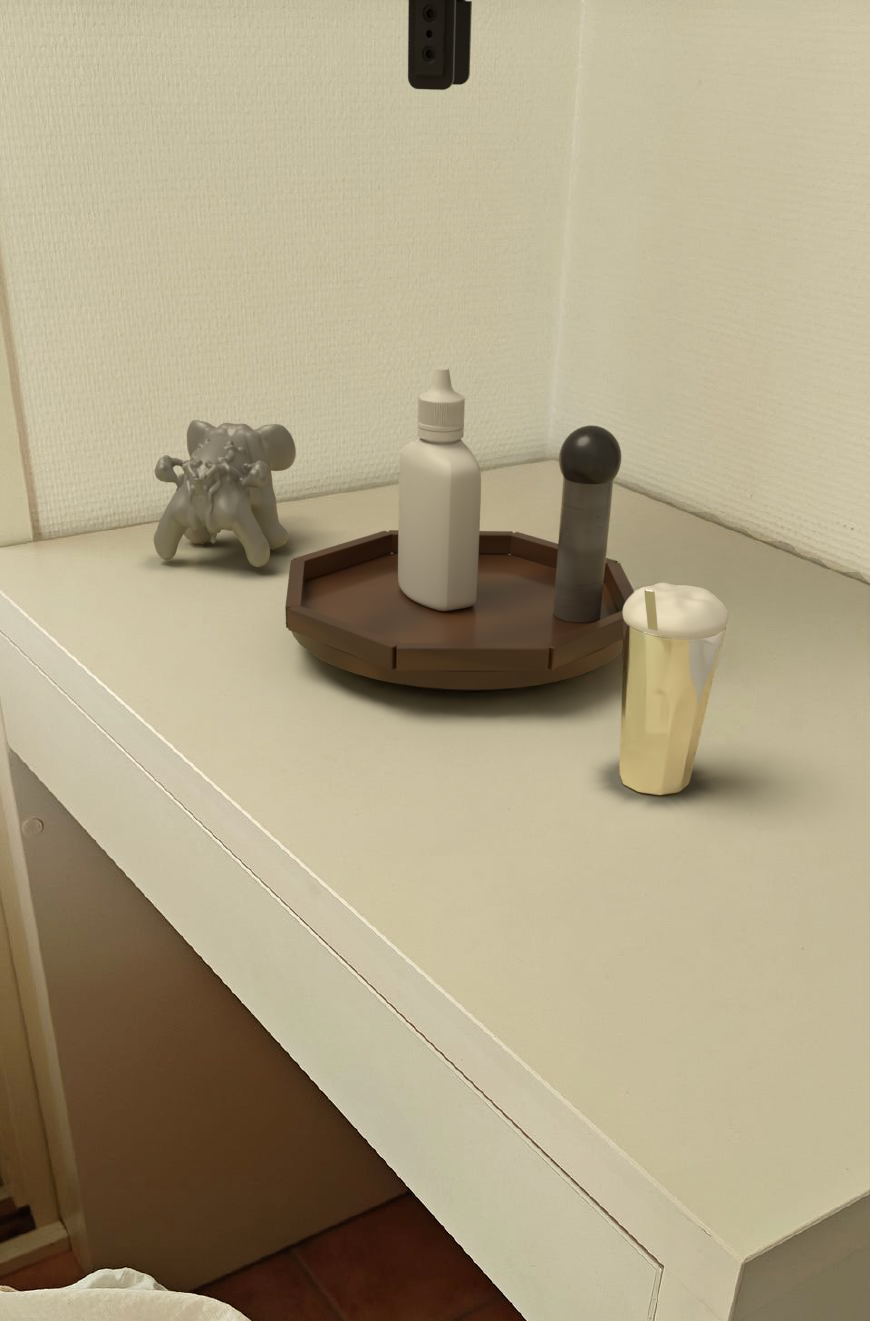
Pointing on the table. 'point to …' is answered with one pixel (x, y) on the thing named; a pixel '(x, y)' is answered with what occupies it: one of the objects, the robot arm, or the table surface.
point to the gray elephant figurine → (226, 488)
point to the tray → (478, 597)
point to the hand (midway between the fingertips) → (440, 86)
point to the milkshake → (666, 682)
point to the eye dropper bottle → (439, 505)
